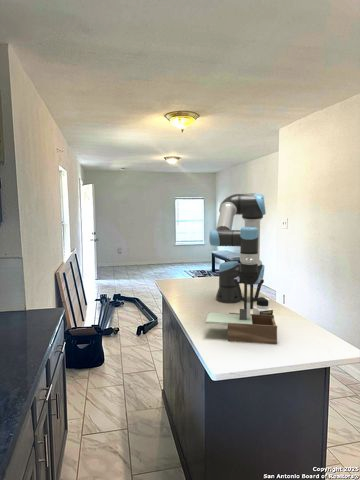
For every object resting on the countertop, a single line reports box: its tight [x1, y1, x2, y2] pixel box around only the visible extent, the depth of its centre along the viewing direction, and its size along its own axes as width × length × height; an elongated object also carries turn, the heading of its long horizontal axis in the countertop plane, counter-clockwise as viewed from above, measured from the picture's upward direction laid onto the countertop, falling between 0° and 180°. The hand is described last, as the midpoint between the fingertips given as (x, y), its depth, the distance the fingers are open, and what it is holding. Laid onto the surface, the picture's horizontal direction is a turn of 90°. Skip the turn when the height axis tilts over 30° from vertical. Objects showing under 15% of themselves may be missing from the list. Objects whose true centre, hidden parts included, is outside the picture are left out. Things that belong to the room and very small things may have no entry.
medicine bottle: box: [252, 296, 274, 315], centre depth 158 cm, size 7×7×12 cm
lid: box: [205, 308, 252, 326], centre depth 142 cm, size 12×20×5 cm, turn 79°
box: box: [227, 312, 278, 345], centre depth 141 cm, size 14×20×8 cm
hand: (248, 316), depth 141 cm, fingers closed
